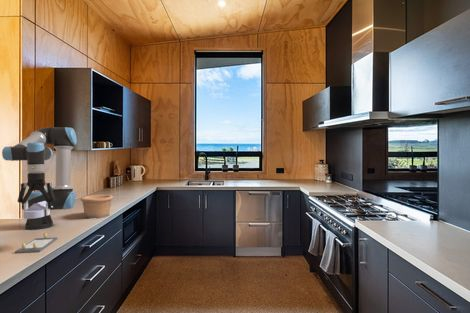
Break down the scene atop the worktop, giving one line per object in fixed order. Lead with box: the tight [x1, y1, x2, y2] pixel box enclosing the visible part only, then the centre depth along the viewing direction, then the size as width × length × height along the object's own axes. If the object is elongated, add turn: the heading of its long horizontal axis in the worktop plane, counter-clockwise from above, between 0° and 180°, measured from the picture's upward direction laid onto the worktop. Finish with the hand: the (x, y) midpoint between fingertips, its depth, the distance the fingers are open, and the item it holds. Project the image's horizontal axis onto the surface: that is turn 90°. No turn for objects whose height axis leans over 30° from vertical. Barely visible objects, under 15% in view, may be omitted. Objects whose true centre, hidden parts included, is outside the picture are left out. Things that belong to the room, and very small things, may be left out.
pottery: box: [80, 194, 114, 219], centre depth 227 cm, size 22×22×14 cm
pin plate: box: [14, 232, 59, 254], centre depth 159 cm, size 21×11×4 cm, turn 9°
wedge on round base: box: [23, 201, 53, 220], centre depth 159 cm, size 9×7×13 cm
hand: (37, 215), depth 159 cm, fingers closed on wedge on round base, 10 cm apart
